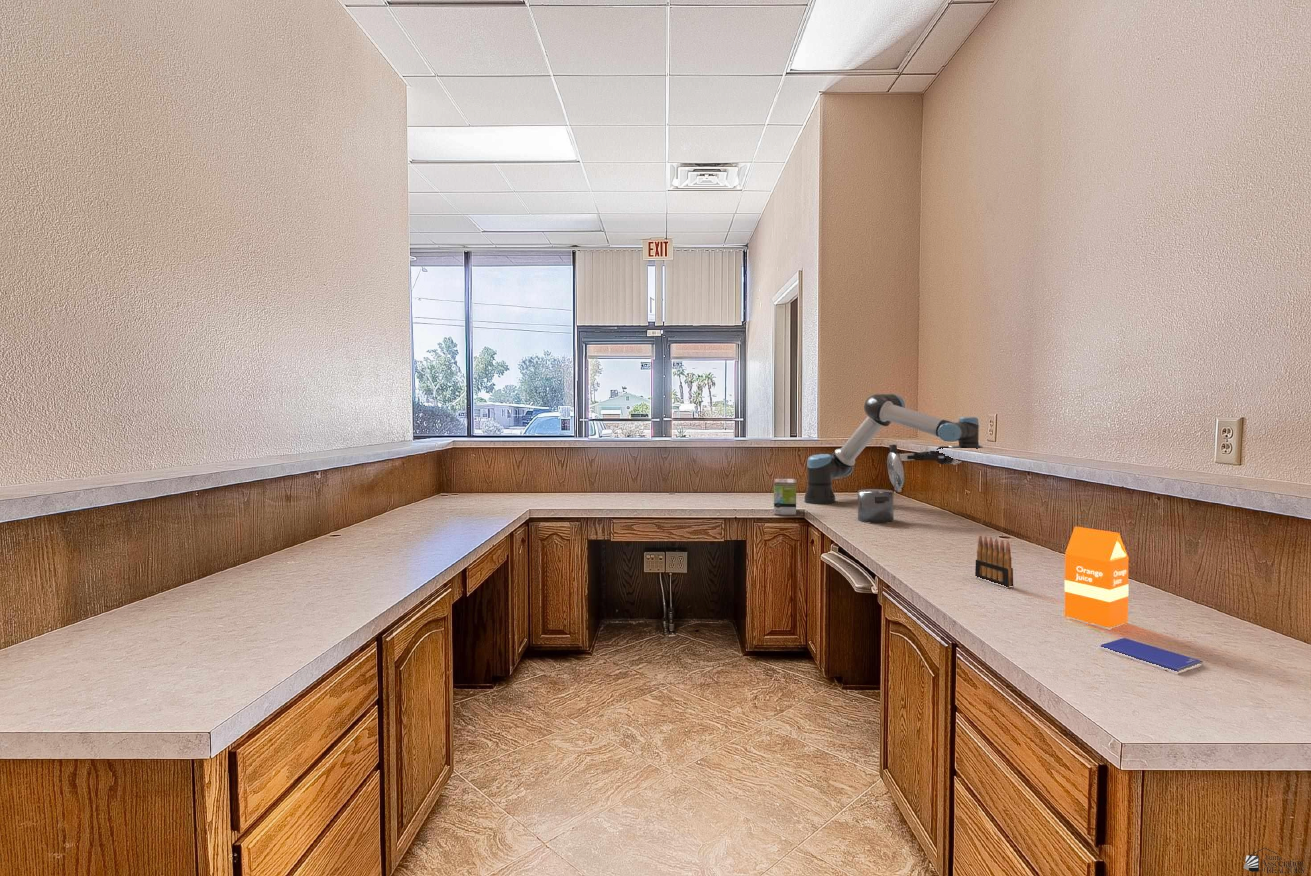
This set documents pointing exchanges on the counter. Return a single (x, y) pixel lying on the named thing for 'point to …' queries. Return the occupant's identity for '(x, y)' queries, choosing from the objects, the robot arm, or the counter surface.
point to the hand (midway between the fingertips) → (898, 457)
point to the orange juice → (1096, 577)
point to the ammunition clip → (994, 562)
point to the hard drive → (1152, 654)
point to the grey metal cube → (875, 505)
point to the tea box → (785, 496)
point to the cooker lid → (895, 468)
